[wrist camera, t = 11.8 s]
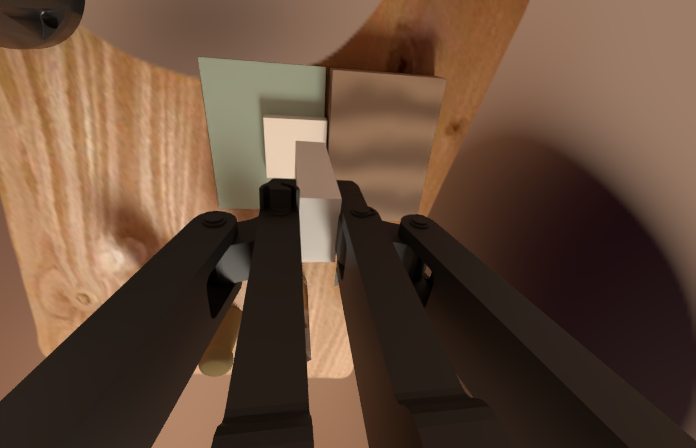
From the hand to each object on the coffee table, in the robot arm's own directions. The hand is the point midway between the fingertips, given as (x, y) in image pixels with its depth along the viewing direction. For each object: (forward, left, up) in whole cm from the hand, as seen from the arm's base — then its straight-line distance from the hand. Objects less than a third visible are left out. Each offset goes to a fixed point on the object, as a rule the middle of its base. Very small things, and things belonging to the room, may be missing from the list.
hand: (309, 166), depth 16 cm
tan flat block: (+7, +10, -28) cm, 30 cm away
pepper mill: (+40, -14, -28) cm, 50 cm away
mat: (+7, -5, -27) cm, 29 cm away
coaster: (+7, -1, -27) cm, 28 cm away
